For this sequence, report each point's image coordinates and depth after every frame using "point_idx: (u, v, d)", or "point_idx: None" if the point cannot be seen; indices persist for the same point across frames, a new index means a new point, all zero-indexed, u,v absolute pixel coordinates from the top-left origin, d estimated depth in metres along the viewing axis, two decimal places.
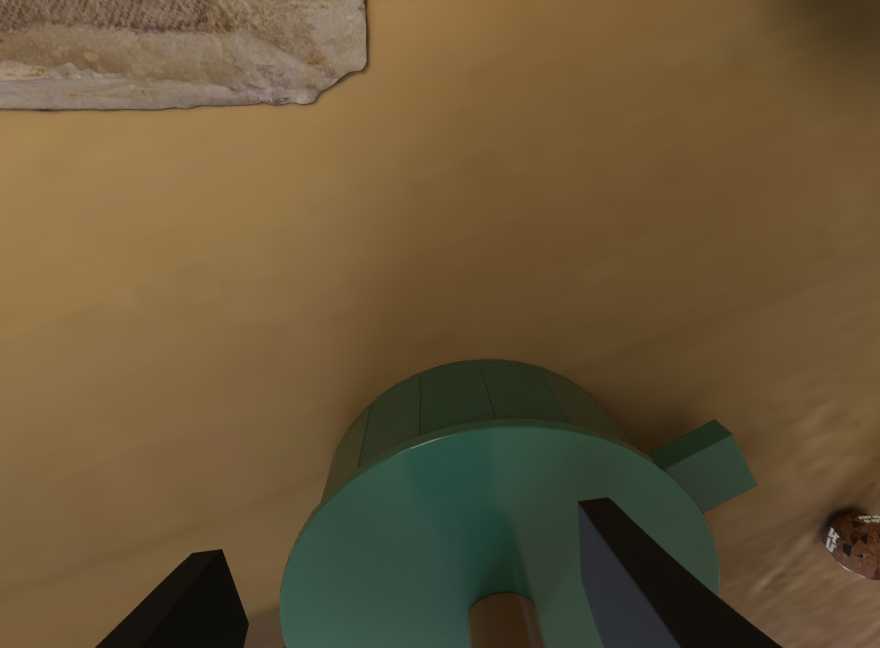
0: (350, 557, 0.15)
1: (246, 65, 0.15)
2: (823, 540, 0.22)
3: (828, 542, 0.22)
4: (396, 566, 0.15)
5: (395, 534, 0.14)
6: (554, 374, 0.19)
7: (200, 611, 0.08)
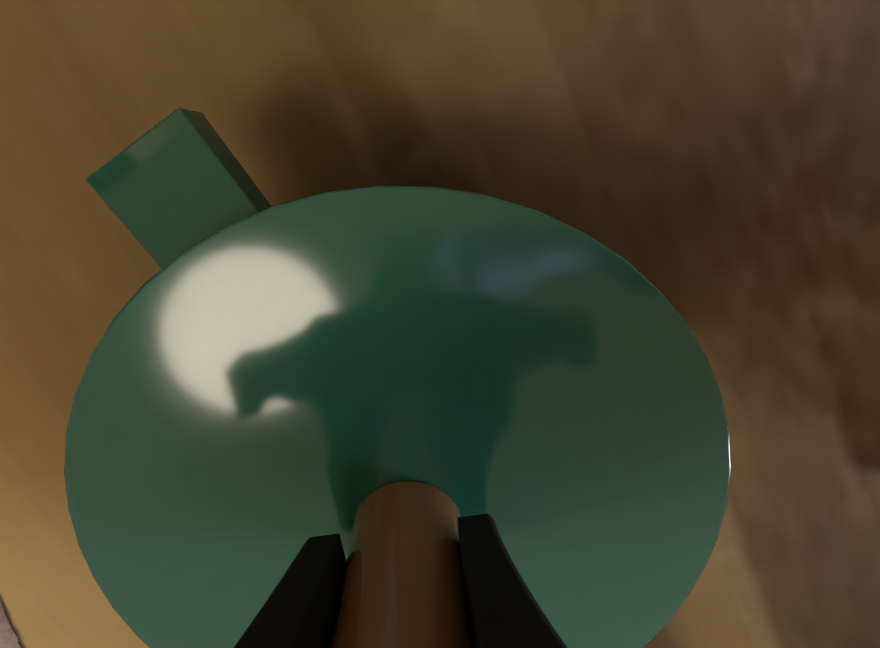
0: None
1: None
2: None
3: None
4: None
5: None
6: None
7: (331, 593, 0.08)
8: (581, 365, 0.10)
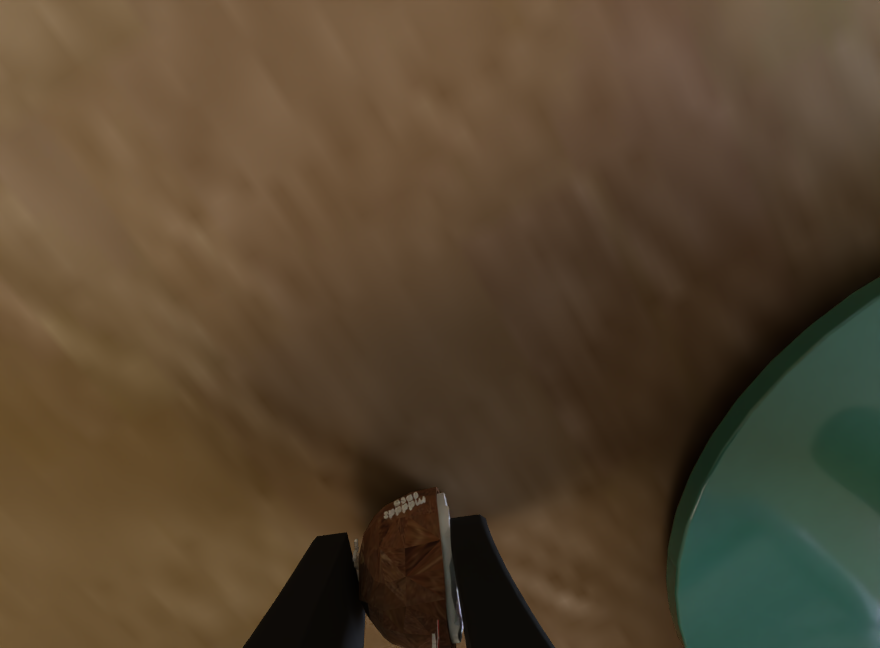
0: None
1: None
2: None
3: None
4: None
5: None
6: None
7: (340, 592, 0.08)
8: None
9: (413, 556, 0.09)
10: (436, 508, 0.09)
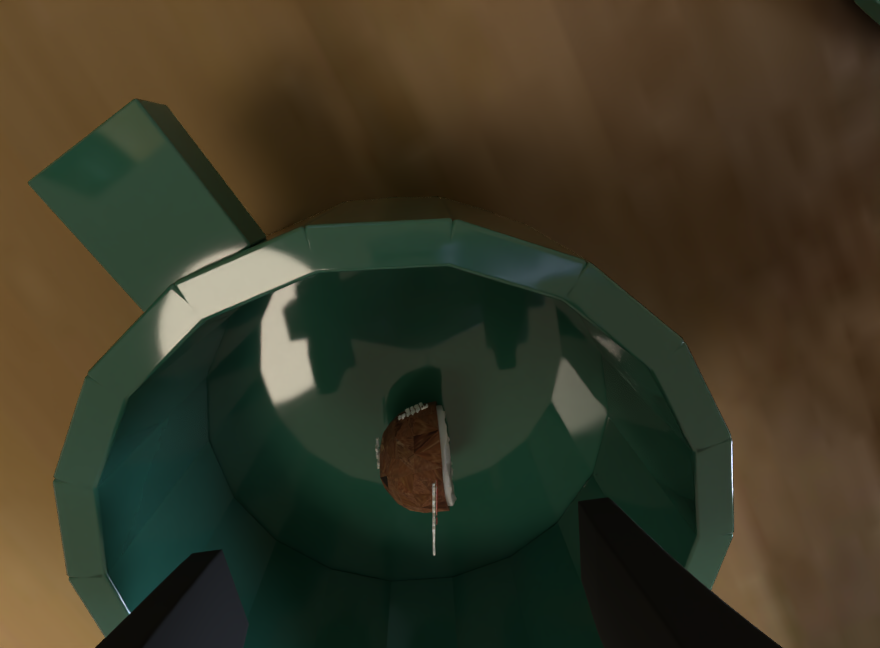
0: None
1: None
2: None
3: None
4: None
5: None
6: None
7: (200, 611, 0.08)
8: None
9: (419, 441, 0.12)
10: (435, 411, 0.13)
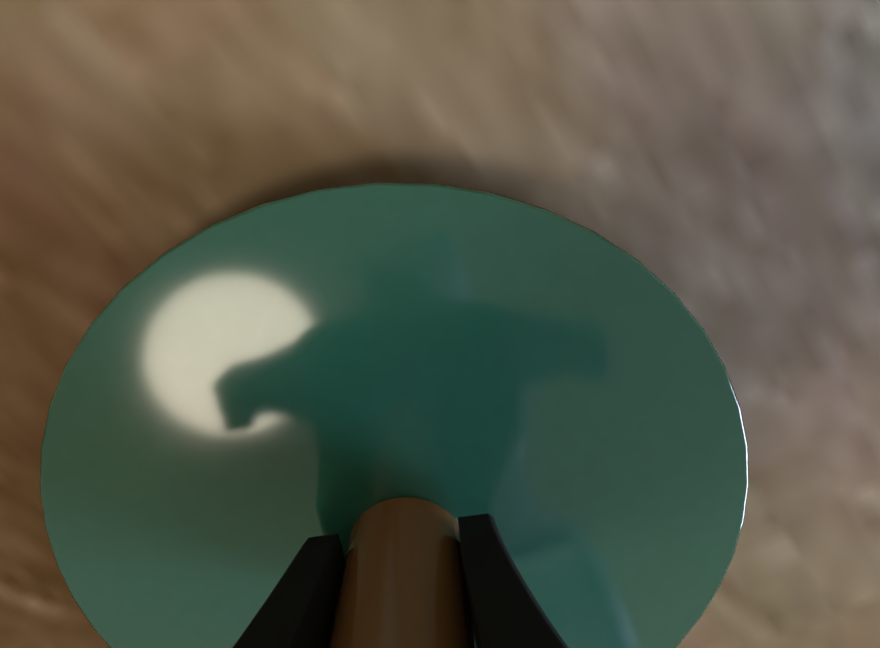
0: None
1: None
2: None
3: None
4: None
5: None
6: None
7: (330, 594, 0.08)
8: (590, 374, 0.09)
9: None
10: None
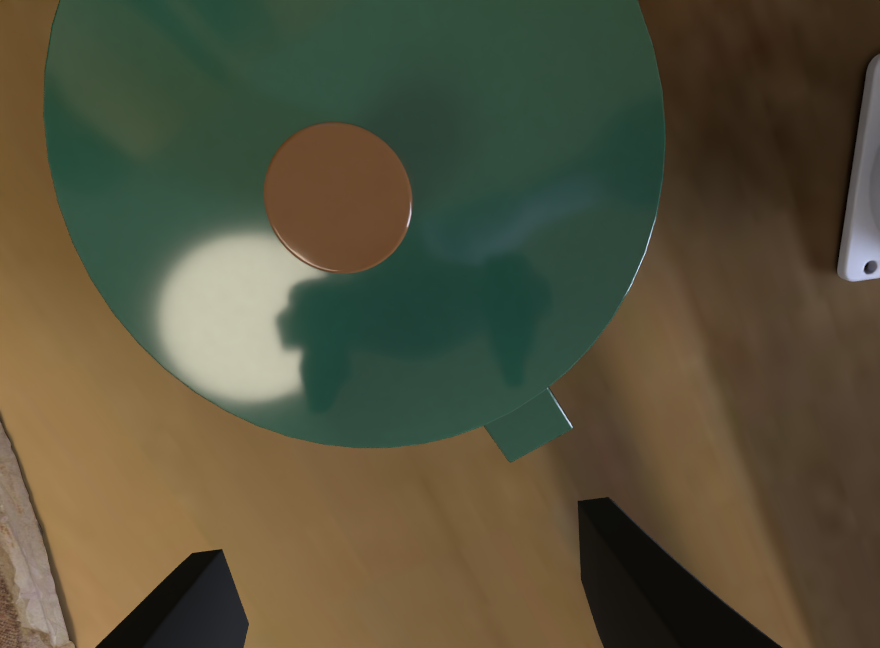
0: (271, 373, 0.13)
1: None
2: None
3: None
4: (281, 324, 0.12)
5: (232, 324, 0.12)
6: None
7: (200, 611, 0.08)
8: (521, 5, 0.10)
9: None
10: None
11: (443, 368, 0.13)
